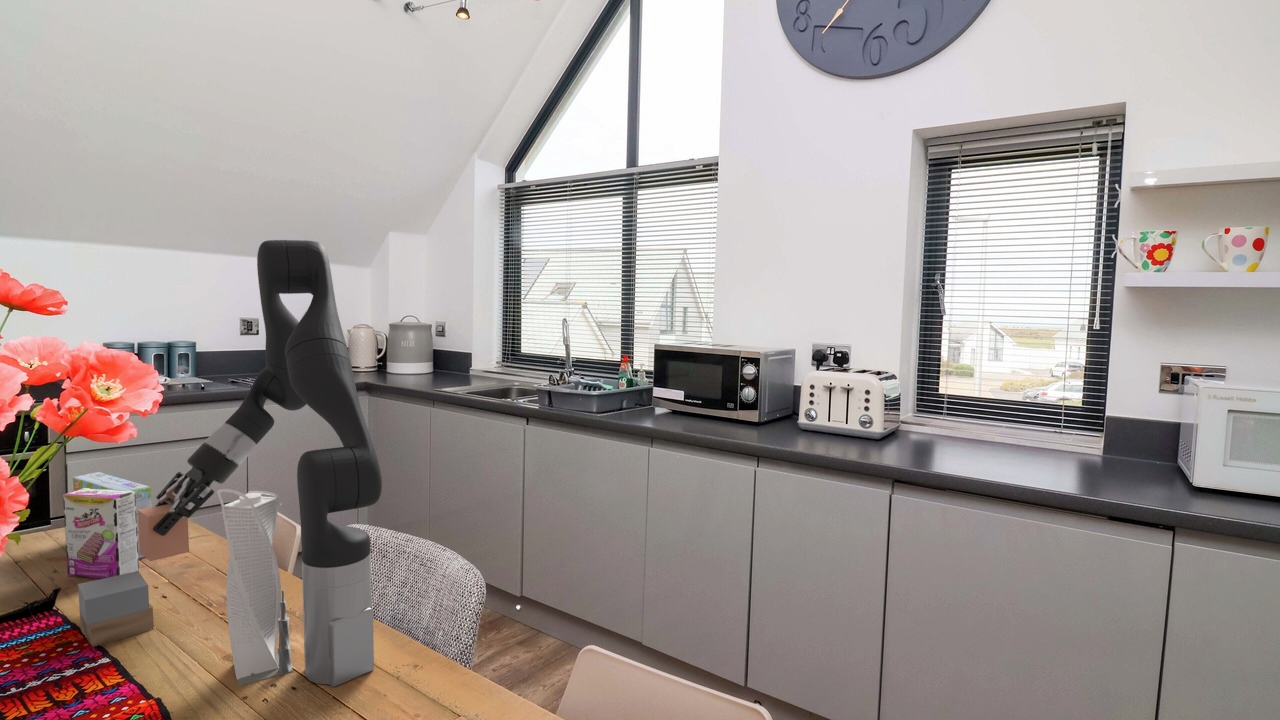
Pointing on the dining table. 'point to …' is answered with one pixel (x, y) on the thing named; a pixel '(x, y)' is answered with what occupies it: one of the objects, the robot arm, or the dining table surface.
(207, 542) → the dining table surface
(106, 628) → the walnut block
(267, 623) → the twisted tower model
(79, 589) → the gray block
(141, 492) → the snack box
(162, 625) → the dining table surface
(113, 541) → the candy bar box
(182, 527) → the salmon orange block
